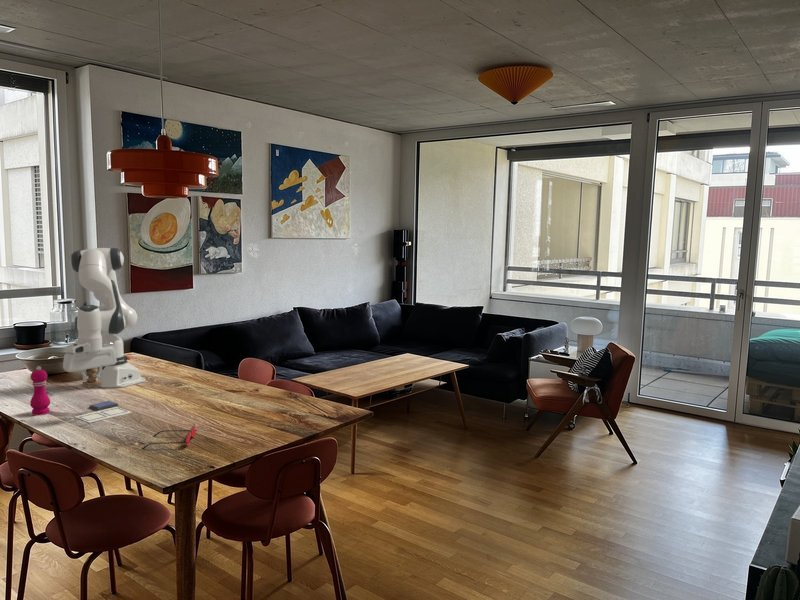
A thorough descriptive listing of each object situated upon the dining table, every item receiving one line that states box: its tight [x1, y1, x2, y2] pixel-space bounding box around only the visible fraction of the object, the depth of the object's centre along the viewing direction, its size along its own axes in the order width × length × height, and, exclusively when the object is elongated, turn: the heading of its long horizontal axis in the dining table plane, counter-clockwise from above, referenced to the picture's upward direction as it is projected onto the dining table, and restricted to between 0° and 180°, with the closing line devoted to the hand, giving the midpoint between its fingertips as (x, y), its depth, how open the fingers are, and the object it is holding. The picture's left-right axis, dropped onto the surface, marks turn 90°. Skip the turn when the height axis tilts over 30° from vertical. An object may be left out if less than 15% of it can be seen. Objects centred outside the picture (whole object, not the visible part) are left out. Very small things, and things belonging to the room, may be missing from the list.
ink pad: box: [89, 400, 119, 411], centre depth 263 cm, size 9×7×1 cm
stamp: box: [81, 368, 101, 389], centre depth 246 cm, size 5×5×8 cm
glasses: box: [141, 425, 198, 450], centre depth 222 cm, size 14×16×5 cm
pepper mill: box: [29, 365, 51, 416], centre depth 251 cm, size 7×7×20 cm
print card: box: [74, 406, 133, 424], centre depth 252 cm, size 18×12×1 cm, turn 144°
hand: (91, 378), depth 246 cm, fingers closed on stamp, 3 cm apart
